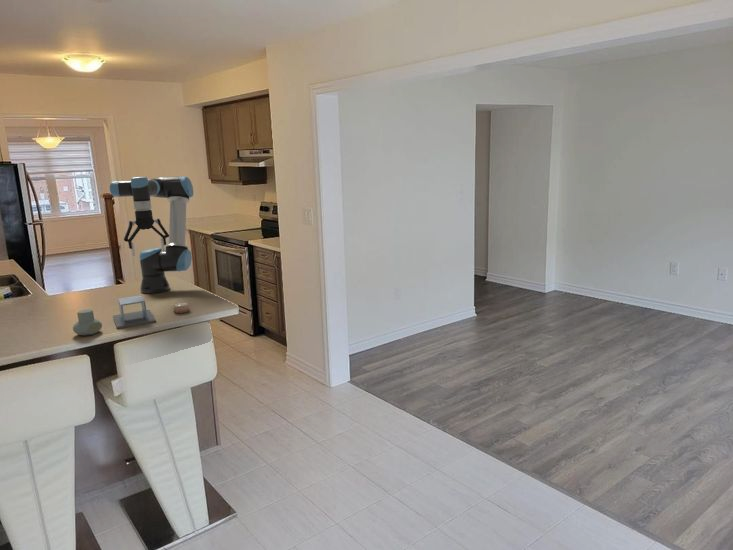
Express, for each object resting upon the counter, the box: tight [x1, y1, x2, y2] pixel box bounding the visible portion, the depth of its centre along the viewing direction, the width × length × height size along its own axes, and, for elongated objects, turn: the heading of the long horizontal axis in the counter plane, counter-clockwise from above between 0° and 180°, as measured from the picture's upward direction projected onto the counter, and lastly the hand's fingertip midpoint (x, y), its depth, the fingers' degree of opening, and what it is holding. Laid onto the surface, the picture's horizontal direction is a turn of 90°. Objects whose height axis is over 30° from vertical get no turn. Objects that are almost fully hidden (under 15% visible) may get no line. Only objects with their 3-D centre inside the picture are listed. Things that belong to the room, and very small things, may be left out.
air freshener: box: [72, 308, 103, 336], centre depth 221 cm, size 11×8×10 cm
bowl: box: [172, 302, 190, 314], centre depth 248 cm, size 7×7×4 cm
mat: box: [112, 309, 157, 330], centre depth 238 cm, size 20×16×1 cm
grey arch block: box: [117, 294, 147, 323], centre depth 237 cm, size 12×10×9 cm
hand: (148, 253), depth 253 cm, fingers open, 13 cm apart
